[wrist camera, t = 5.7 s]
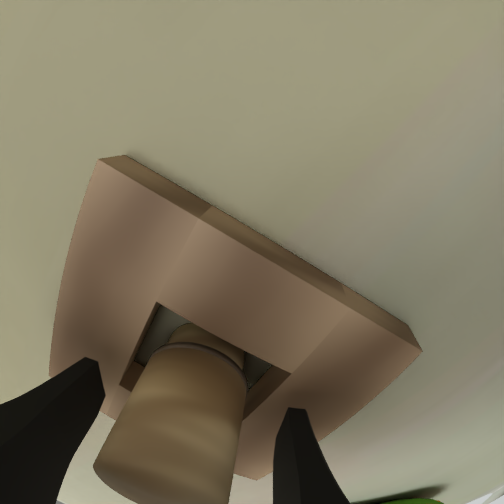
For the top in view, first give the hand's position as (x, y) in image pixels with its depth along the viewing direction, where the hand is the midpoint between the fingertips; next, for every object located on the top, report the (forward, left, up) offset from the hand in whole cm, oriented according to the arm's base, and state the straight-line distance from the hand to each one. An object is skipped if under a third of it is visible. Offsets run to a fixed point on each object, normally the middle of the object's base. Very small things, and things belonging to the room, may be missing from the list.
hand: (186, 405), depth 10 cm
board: (0, 0, -3) cm, 3 cm away
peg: (0, 0, -3) cm, 3 cm away
